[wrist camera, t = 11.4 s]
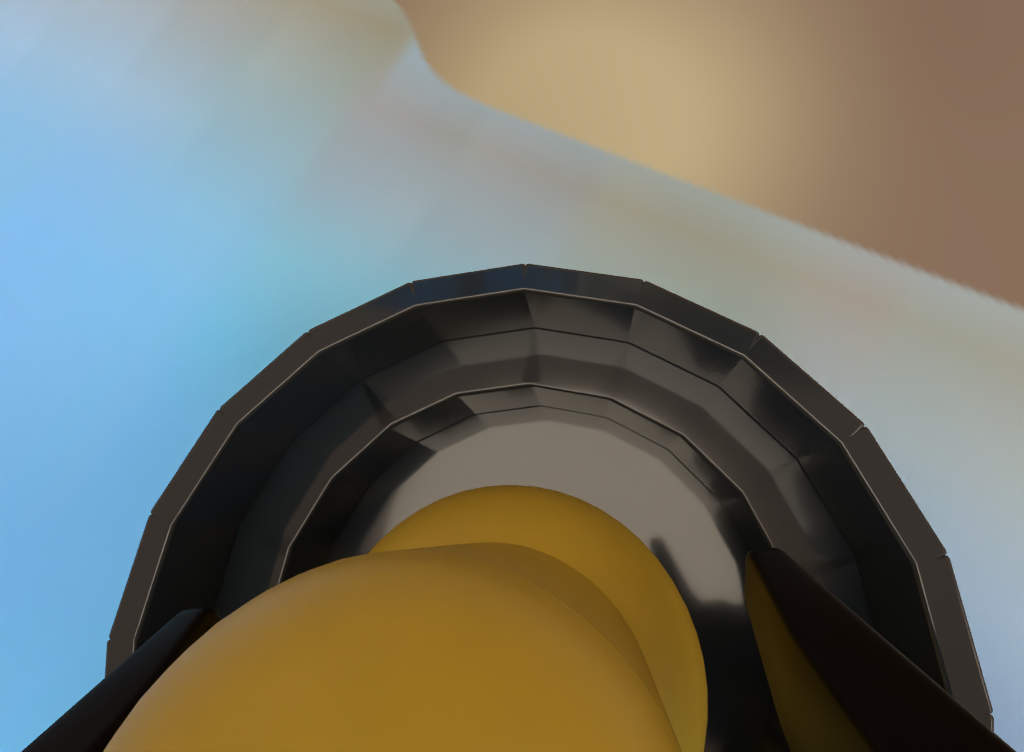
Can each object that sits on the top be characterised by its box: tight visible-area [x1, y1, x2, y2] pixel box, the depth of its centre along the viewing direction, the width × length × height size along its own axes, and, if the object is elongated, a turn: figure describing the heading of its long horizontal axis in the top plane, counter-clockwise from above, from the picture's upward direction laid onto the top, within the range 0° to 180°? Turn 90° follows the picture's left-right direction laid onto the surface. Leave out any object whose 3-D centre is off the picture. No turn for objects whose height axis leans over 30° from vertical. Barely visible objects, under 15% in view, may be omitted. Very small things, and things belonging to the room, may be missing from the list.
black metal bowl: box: [105, 264, 994, 752], centre depth 13 cm, size 15×15×5 cm
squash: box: [103, 485, 708, 752], centre depth 8 cm, size 7×7×13 cm
